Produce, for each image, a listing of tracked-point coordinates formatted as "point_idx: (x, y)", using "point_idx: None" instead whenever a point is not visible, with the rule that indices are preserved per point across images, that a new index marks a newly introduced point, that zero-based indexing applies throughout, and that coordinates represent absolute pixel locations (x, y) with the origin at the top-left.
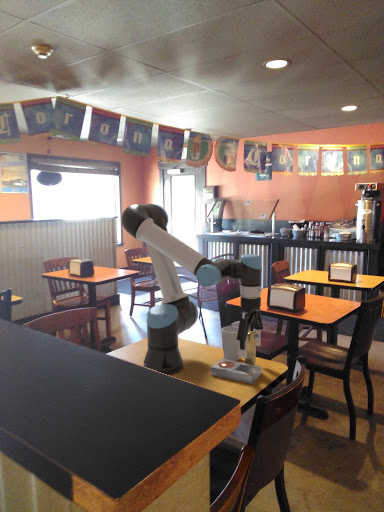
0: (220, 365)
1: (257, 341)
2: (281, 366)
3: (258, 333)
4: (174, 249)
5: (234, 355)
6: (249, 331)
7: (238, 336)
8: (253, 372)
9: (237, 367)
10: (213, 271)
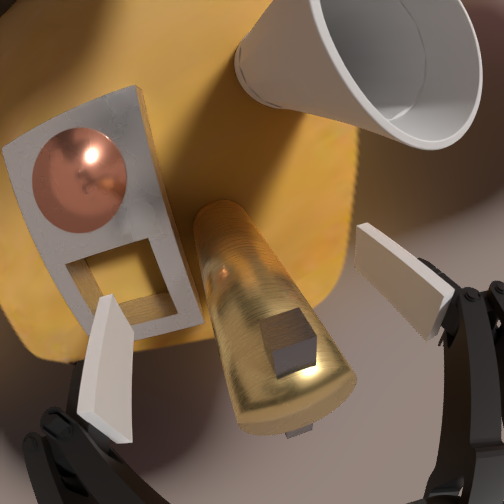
0: (39, 175)
1: (375, 271)
2: (321, 298)
3: (412, 316)
4: None
5: (266, 99)
6: (344, 375)
7: (37, 469)
8: None
9: (106, 248)
10: None
